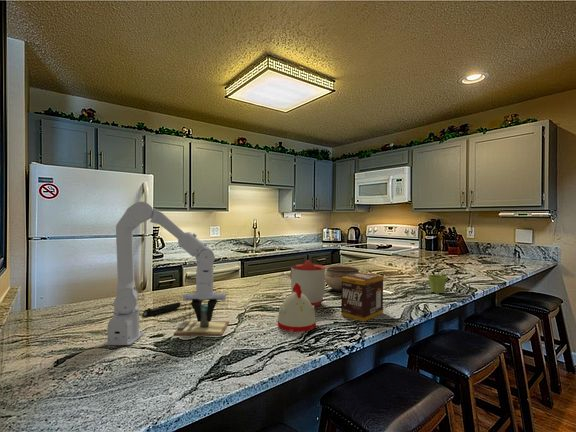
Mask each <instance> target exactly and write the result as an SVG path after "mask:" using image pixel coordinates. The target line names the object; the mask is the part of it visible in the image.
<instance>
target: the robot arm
mask: <svg viewBox="0 0 576 432" xmlns="http://www.w3.org/2000/svg"><path fill="white" fill-rule="evenodd" d="M149 220H150V223H153V224H156V225H159V226H161V227H162V228H164V230H165V231H167V232H169V234H171V235H172V236H173V237H175V238H176V239H177V244H178V246H179V247H180V248H181V249H182V250H184V251H185V252H186V253H188V254H189V255H190V256H191V257H194V258H195V260H196V261H197V262H196V273H195V274H196V275H195V277H196V280H195V282H196V284H195V285H196V288H195V289H196V290H195V293H183V295H182V301H183V302H184V301H185V302H186V301H191V302H190V305H191V307H192V308H193V310H194V312H195V315H196V316H195V317H196V319H197V320H196V321H198V322H200V306H201V305H203V304H202V303H203V301H207V303H206V305H208V322H210V321H212V318H213V314H214V311H215V308H216V306H217V304H218V301H222V302H225V301H226V299H227V294H226V293H217V292H214V262H215V260H216V259H215V258H216V257H215V253H214V252H213V250H212V249H210V248H209V247H208V245H207V243H205V242H204V243H203V242H202V241H201V240H200V239H199V238H198V237H197V234H196V233H192V232H191V231H190V232H189V231H188V232H185V231H183V229H181V228H180V227H179V226H178V225H177V224H176V223H175V222H173V221H172V220H171V219H170V218H169V217H168V216H167V215H166V214H164V213H163V212H162V211H160V210H158V209H157V208H155V207H153V206H151V205H150V204H149V203H147V202H146V201H137V202H135V203H133V204H132V205H130V206H129V207H128V208H127V209H126V210H125V212H124V213H123V215H122V217H121V218H120V219H119V220H118V222H117V223H116V225H115V238H116V241H115V242H116V243H115V244H116V267H117V268H116V270H117V286H116V296H115V299H114V301H113V308H114V310H113V316H112V318H111V319H109V320H108V323H107V340H106V342H104V346H130V345H133V344H134V343H135V342H136V341H137V340H138V339H140V338H141V337H142V336H143V335H144V334H145V332H144V331H140V307H139V306H138V304H137V303H138V300H139V297H140V296H139V295H140V294H139V292H138V289H137V288H136V280H135V264H134V240H133V239H134V236H133V235H134V234H133V233H134V232H133V231H135V230H136V229H137V228H138V226H140V225H141V224H142V223H145V222H147V221H149Z"/></svg>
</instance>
